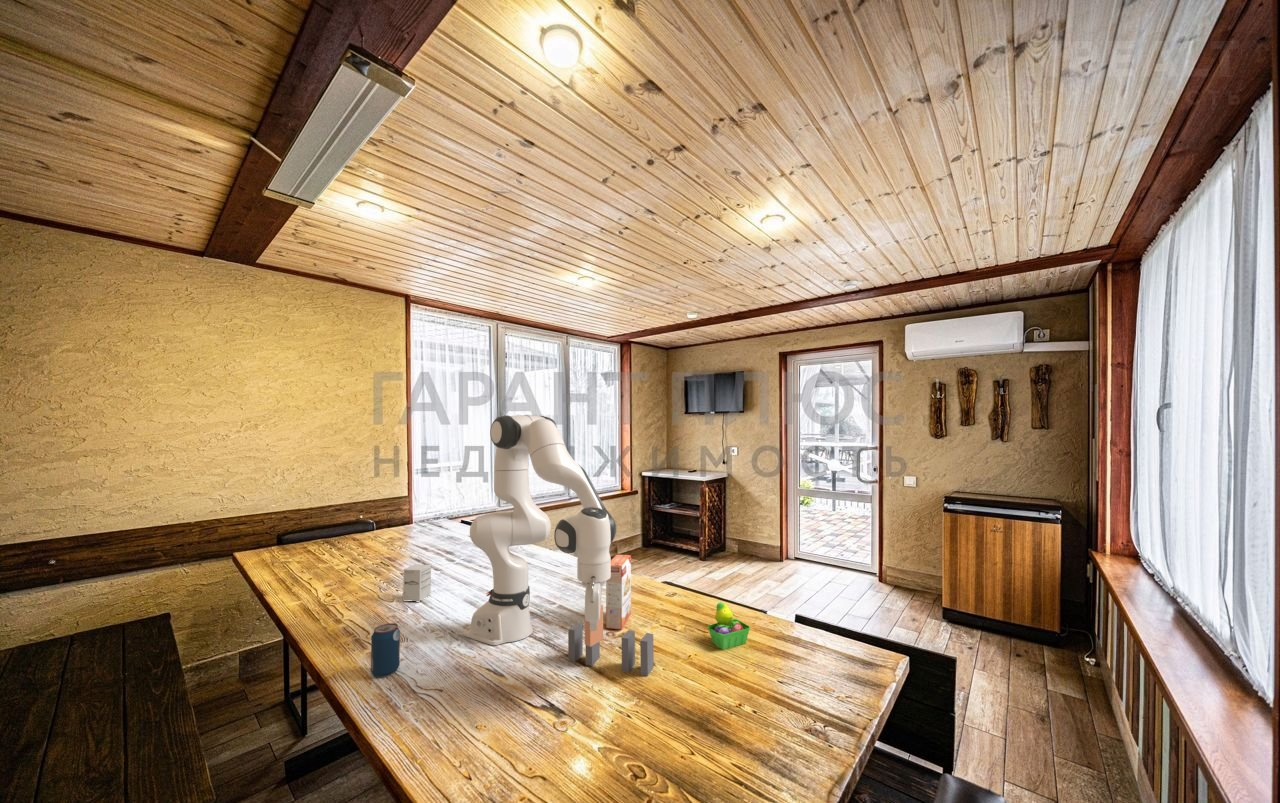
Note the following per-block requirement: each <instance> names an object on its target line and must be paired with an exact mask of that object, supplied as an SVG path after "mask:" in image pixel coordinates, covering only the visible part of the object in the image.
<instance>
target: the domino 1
mask: <svg viewBox="0 0 1280 803" xmlns="http://www.w3.org/2000/svg"><path fill="white" fill-rule="evenodd" d="M583 625H584V624H583V623H582V622H575V623H573V625H572V626H570V627H569V628H568V629H567V630H568V631H567V632H568V633H567V634H568V635H567V636H568V638H567V639H568V641H567V642H568V645H567V650H568V652H567V654H568V656H567V657H568V658H567V659H568V663H572V664H575V663H577V661H578V660H579V659H581V657H582V656H583V652H584V651H583V647H584V644H583V643H584V642H583V640H584V638H583V636H584V635H583V633H584V632H583Z"/></svg>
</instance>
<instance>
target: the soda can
mask: <svg viewBox="0 0 1280 803" xmlns="http://www.w3.org/2000/svg"><path fill="white" fill-rule="evenodd" d="M370 644H371V645H370V646H371V649H370V651H371V652H370V672H371V674H372V676H374V678H378V679H379V678H388V677H390V676H392V675H394V674H395V673H396V672H397V670H398V668H399V667H400V662H401V661H400V660H401V659H400V657H401V656H400V655H401V654H400V653H401V651H400V650H401V648H400V646H401V630H400V628H399V626H398V624H397V623H395V622H394V623H392V622H390V623H389V622H388V623H385V624H381V625H377V626H376V627H375V628H374V630H373V633H372V635H371V642H370Z"/></svg>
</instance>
